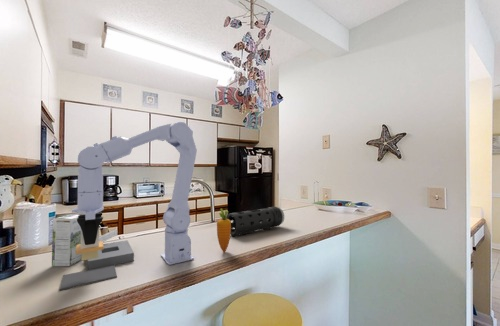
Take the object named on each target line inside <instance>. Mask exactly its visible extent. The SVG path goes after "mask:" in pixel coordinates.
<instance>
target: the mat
mask: <svg viewBox="0 0 500 326" xmlns="http://www.w3.org/2000/svg"><path fill="white" fill-rule="evenodd" d="M117 275H118V274H117V270H116V266H115V265H110V266H105V267H100V268H95V269H91V270H88V269H87V270H80V271H76V272H72V273H67V274H63V275H62V278H61V282H60V286H59V291H64V290H65V291H66V290H68V289H73V288H77V287H83V286H85V285H90V284H94V283H95V284H96V283H99V282H103V281H106V280H107V281H108V280H111V279H115V278H118V276H117Z"/></svg>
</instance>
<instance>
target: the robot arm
mask: <svg viewBox="0 0 500 326" xmlns="http://www.w3.org/2000/svg"><path fill="white" fill-rule="evenodd" d="M193 133H194V132H193V130H192V128H191V127H190V126H189V125H188V124H187V123H186V122H185V121H176V122H174V123H173V124H172V123H167V124H164V125H160V126H156V127H154V128H151V129H149V130H146V131H143V132H141V133H139V134H136V135H135V136H131V137H130V138H128V137H127V138H126V137H123V136H118V137H117V136H116V135H114V136H111V139H110V140H106V141H104V142H100V143H98V142H97V143H94V144H93V146H87V147H85V148H83V149H81V150H80V151H79V152H78V155H77V163H78V164H79V167H78V169H77V171H78V172H77V173H78V175H77V208H72V209H71V213H79V214H78V215H79V216H78V218H77V222H78V224H79V225H80V227H81V230H82V233H83V238H84V243H85V245H90V244H95V241H96V237H97V232H98V228H99V229H100V225H101V224H102V222H103V219H104V216H103V212H102V211H104V210H105V208H104V175H103V165H104V163H107V164H110V163H111V162H115V161H117V160H119V159H122V158H123V157H126V156H129V155H130V154H131V153H132V151H133V149H134V148H138V147H139V146H142V145H145V144H148V143H150V142H154V141H162V142H163V141H166V142H167V143H168V144H169V145H171V146H172V147H174V148H175V149H176V150H177V152H178V153H179V159H178V164H177V171H176V175H175V181H174V186H173V189H172V194H171V195H172V196H171V200H170V201H169V203H168V204H167V208H166V211H164V212H163V217H162V219H163V220H162V221H163V222H164V224H165V225H166V226H165V228H164V253H162V254H160V256H161V257H162V259H163V260H164V261H165V262H166V263H167V265H169V266H171V265H174V264H179V263H183V262H188V261H192V260H194V259H195V258H194V256H192V240H191V237H190V236H189V232H188V230H189V229H188V228H189V226H190V224H191V216H190V210H191V209H190V206H189V205H190V204H189V197H190V191H191V190H190V189H191V184H192V181H193V180H192V179H193V173H194V169H195V162H196V157H197V150H198V149H197V147H196V146H197V145H196V142H195V140H194V136H193Z"/></svg>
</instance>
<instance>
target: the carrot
mask: <svg viewBox="0 0 500 326" xmlns="http://www.w3.org/2000/svg"><path fill="white" fill-rule="evenodd" d="M219 210H220V212H219V213H218V214H219V216H220V219H218V220H217V221H216V233H217V234H216V235H217V240H218V244H219V247H220V249H221V251H222V252H223V253H225V252H226V251H227V250H228V247H229V243H230V240H231V223H232V221H230V220H229V219H226V217H227V215H228V214H229V211H228V210H227V209H225V210H223V208H220V209H219Z"/></svg>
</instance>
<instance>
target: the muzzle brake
mask: <svg viewBox="0 0 500 326" xmlns="http://www.w3.org/2000/svg"><path fill="white" fill-rule="evenodd" d="M226 219H229V220H230V221H231V234H230V237H237V236H242V235H246V234H251V233H255V232H256V231H259V230H263V231H268V230H271V228H276V227H280V225H282V224H283V223H284V220H285V213H284V211H283V209H282V208H280V207H278V206H271V207H270V206H269V207H266V208H260V209H253V210H246V211H245V210H244V211H238V212H230V213H228V214H227V217H226Z"/></svg>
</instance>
